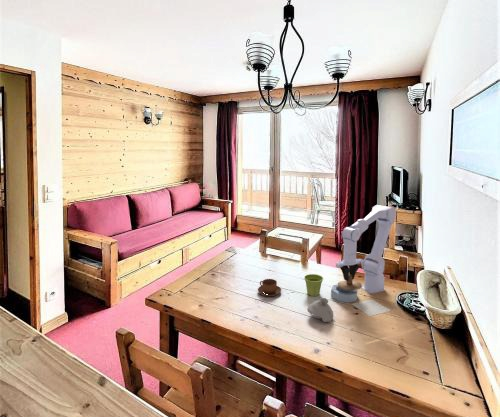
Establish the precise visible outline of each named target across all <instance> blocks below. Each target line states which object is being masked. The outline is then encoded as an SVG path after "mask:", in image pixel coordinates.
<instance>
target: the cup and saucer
mask: <svg viewBox="0 0 500 417" xmlns="http://www.w3.org/2000/svg"><path fill="white" fill-rule="evenodd" d="M277 284H278V283H277V280H276V279H273V278H266V279H263V280H260V282H259V286H258V288H257V292H258V293H259V294H260V295H262V296H265V297H274V296H275V297H276V296H278V295H280V294H281V292H282V288H281V287H280V286H278V285H277ZM263 292H264V293H265V294H264V293H263ZM266 294H268V295H266Z"/></svg>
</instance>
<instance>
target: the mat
mask: <svg viewBox="0 0 500 417" xmlns="http://www.w3.org/2000/svg"><path fill="white" fill-rule="evenodd" d="M351 306H354V307H355V308H356V309H358V310H360V311H361V312H363V313H364V314H365V315H367V316H369V317H373V316H376V315H380V314H384V313H389V312H391V311H392V310H391V309H389V308H387V307H385V306H384V305H382V304H381V303H379V302H377V301H375V300H373V299H368V300H363V301H360V302H353V303H351Z"/></svg>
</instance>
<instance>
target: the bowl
mask: <svg viewBox="0 0 500 417" xmlns="http://www.w3.org/2000/svg"><path fill="white" fill-rule="evenodd" d="M358 290H359V289H357V290H345V289H341V288H339V287H338V283H336V284H332V286H331V290H330V297H331V298H333V299H334V300H336V301H338V302H343V303H344V302H345V303H351V302H356V301H357V300H358Z"/></svg>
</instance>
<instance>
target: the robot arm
mask: <svg viewBox="0 0 500 417" xmlns="http://www.w3.org/2000/svg"><path fill="white" fill-rule="evenodd" d="M371 208H372V209H371V211H370V212H369V213H368V214H367V215H366V216H365V217H364V218H359V219H357V220H356V222H354V223H353V224H351V225H350V226H346V227H344V228H343V230H342V233H341V237H342V241H343V258H342V260H341V261H337V262H335V268H338V269H340V270H341V272H342V275H343V281H348V276H349V274H351V275H352V281H354V279H355V276H356V274H357V271H358V270H359V269H360V265H361V269H362V270H363V273H364V284H363V285H362V287H361V288H360V289H361V290H364V291H365V292H367V293H369V294H376V293H379V292H385V291H386V289H385V280H386V277H385V274H384V272H385V265H386V262H385V259H383V253H384V251H385V250H384V249H385V248H386V245H387V241H388V238H389V234H390V231H391V228H392V225H394V222H395V220H396V216H397V210H396V209H395V207H394V206H386V205H379V204H376V205H374V206H372V207H371ZM375 221H377V222H378V223H379V227H378V230H377V234H376V235H375V236H376V237H375V240H374V242H373V246H372V248H371V252H370V253H369V254H367V255H365V256H364V259H362V258H357V248H358V246H357V243H358V241H359V240H360V237H361V236H362V234H363V233H364V232H366V230H368V228H369V225H370V224H372V223H374V222H375ZM359 264H360V265H359Z"/></svg>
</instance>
